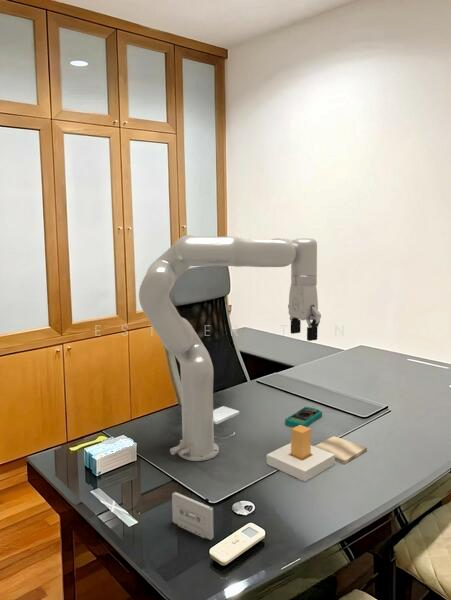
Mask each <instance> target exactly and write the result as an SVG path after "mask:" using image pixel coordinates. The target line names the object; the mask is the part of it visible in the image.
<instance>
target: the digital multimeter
mask: <svg viewBox="0 0 451 600" xmlns="http://www.w3.org/2000/svg"><path fill="white" fill-rule="evenodd" d="M322 417H323V411H322V410H320V409H317V408H314V407H309V406H304V407H303V408H301V409H300V410H297V411H296V412H295V413H293V414H292V415H290V416H288V417H286V418H285V419H284V425H285V426H287V427H291V426H292V427H291V428H294V427H296V426H299V425H302V426H305V427H309V426H310V425H311V424H313V423H314V422H316V421H317V420H319V419H321V418H322Z"/></svg>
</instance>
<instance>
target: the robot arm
mask: <svg viewBox="0 0 451 600" xmlns="http://www.w3.org/2000/svg"><path fill="white" fill-rule="evenodd" d="M289 266H290V271H291V272H290V277H291V278H290V282H291V283H290V287H289V295H288V305H287V308H288V315H289V320H290V334H291V335H292V334H293V335H294V334H300V333H301V323H302V322H301V321H306V324H307V327H306V340H307V341H308V342H311V341H317V340H318V328H319V324H320V323H321V318H322V314H321V313H320V311H319V299H318V290H317V283H318V282H317V281H318V280H317V279H318V273H317V272H318V243H317V240H316V239H314V238H295V239H288V238H287V239H286V238H279V237H275V238H271V239H269V240H265V239H264V240H263V239H261V240H260V239H258V240H257V239H246V238H241V237H238V236H237V237H236V236H198V235H197V236H196V235H190V234H188V235H187V234H186V235H183V236H180V237H179V238H178V239H177V240H176V241H175V242H174V243H173V244H172V245H171V246H170V247H169V248H168V249H167V250H165V252H163V253H162V254H161V255H160V256H158V257H157V259H156V260H155V261H154V260H153V262H152V263H151V264H150V266H149V267H148V269H147V271H146V273H145V276H144V277H143V279H142V281H141V284H140V287H139V290H138V291H139V292H138V299H139V305H140V307H141V309H142V311H143V313H144V315H145V317H146V318H147V320H148V321H149V323H150V325H151V326H152V328H153V331H155V333H156V335H157V336H158V338H159V339H160V341H161V343H162V345H163V346H164V348H165V349H166V350H167V351H168V352H169V353H171V354H173V355H174V356H175V358H176V360H177V361H178V362H179V366H180V367H179V368H180V385H181V386H180V391H181V393H180V394H181V396H180V397H181V430H182V431H181V432H182V439H180V440H179V443H178V445H176V446H174V447H171V448H170V449H169V452H170V453H169V454H170V455H172V456H174V455H176V454H178V456H179V457H181V458H182V459H184V460H187V461H192V462H203V461H208V460H212V459H214V458H215V457H216V456H218V455H219V452H220V446H219V445H218V444H217V443H216V442H215V439H214V436H215V435H214V431H215V429H214V423H213V410H214V365H213V362H212V358H211V356H210V353H209V351H208V350H207V347H205V345H204V343H203V342H202V340H201V338H200V337H199V335H198V333H197V332H196V331H195V328H193V326H192V324H191V323H190V321H188V319H186V318H185V317H182V316H181V315H180V313H179V312H178V310H177V308H176V306H175V305H174V303H173V302H172V300H171V298H170V293H171V290H172V288H174V286H175V284H176V283H175V282H176V280H177V279H179V278H180V276H181V275H183V273H185V272H186V270H188V269H189V268H190V267H235V268H236V267H237V268H238V267H241V268H242V267H250V268H251V267H252V268H285V267H289Z"/></svg>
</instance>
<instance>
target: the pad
mask: <svg viewBox="0 0 451 600" xmlns="http://www.w3.org/2000/svg"><path fill="white" fill-rule="evenodd" d="M313 446H314V447H317V448H319V449H322V450H325V451H327V452H330V453H332V454H335V462H338V463H341V464H343V465H346V464H347V463H349V462H350V461H352V460H354V459H356V458H357V457H359V456H361V455H362V454H364V453H366V452H368V451H367V449H368V448H367V447H366V446H364V445H361V444H358V443H354V442H352V441H350V440H347V439H344V438H341V437H338V436H335V435H333V436H331V437H329V438H326V439H325V440H324V441H322V442H319V443H318V444H316V445H313Z"/></svg>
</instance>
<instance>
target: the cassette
mask: <svg viewBox="0 0 451 600" xmlns="http://www.w3.org/2000/svg"><path fill="white" fill-rule="evenodd" d="M171 506H172V507H171V509H172V522H173V524H175V525H177V526H178V527H179V528H182V529H184V530H186V531H188V532H189V533H192V534H194V535H196V536H199V537H200V538H203V539H208V540H210V541H211V540H213V539H214V508H213V507H212V506H209V505H207V504H205V503H202V502H199V501H197V500H195V499H193V498H190V497H188V496H186V495H184V494H181V493H179V492H176V491H174V492H173V493H171Z"/></svg>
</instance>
